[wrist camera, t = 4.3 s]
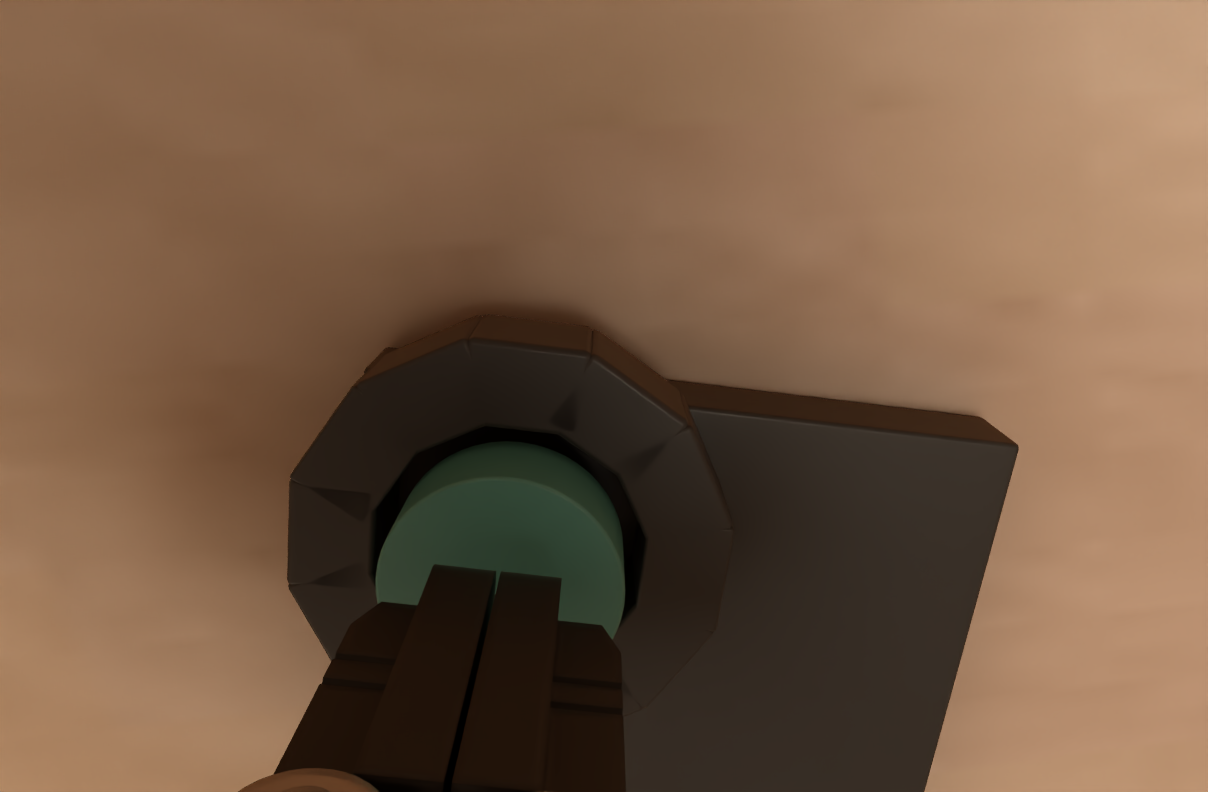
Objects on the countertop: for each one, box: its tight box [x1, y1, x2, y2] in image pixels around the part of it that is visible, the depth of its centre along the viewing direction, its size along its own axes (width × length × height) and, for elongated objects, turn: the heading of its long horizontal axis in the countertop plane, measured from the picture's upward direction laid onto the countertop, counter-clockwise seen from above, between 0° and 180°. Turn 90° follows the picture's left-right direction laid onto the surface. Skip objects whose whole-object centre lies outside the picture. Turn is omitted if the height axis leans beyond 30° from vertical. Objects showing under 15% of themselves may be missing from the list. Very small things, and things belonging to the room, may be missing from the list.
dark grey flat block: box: [287, 314, 1018, 792], centre depth 15 cm, size 13×11×3 cm
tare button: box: [375, 441, 625, 639], centre depth 12 cm, size 3×3×1 cm
